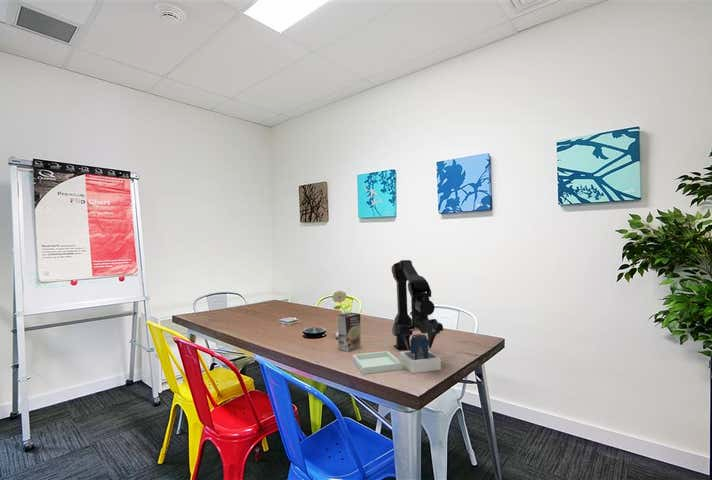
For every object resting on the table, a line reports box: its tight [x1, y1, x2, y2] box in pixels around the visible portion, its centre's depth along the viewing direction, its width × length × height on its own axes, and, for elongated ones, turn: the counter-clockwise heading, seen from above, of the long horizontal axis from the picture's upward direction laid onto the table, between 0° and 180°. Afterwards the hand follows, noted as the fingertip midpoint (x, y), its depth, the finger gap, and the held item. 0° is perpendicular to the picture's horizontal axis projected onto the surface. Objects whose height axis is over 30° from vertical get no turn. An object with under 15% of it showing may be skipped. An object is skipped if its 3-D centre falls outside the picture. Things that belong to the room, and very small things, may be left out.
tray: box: [352, 350, 403, 375], centre depth 139 cm, size 16×16×2 cm
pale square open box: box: [399, 349, 442, 374], centre depth 136 cm, size 12×12×4 cm
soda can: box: [410, 333, 429, 360], centre depth 136 cm, size 7×7×12 cm
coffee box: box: [337, 312, 362, 352], centre depth 162 cm, size 9×6×16 cm
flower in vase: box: [331, 290, 351, 338], centre depth 181 cm, size 13×11×25 cm
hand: (419, 349), depth 136 cm, fingers open, 9 cm apart
